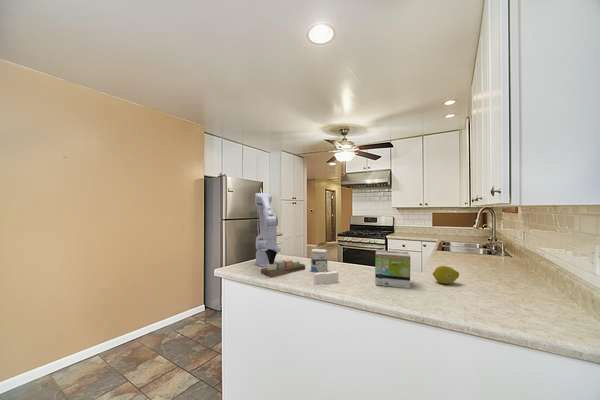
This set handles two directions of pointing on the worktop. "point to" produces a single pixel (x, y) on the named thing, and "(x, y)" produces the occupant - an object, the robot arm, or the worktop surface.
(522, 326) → the worktop surface
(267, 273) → the brown wooden long tray
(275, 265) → the white key
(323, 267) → the ink box
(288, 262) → the terracotta key
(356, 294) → the worktop surface
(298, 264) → the pale green block
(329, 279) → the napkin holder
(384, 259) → the tea box
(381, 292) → the worktop surface
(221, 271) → the worktop surface
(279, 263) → the grey key
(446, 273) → the lemon
